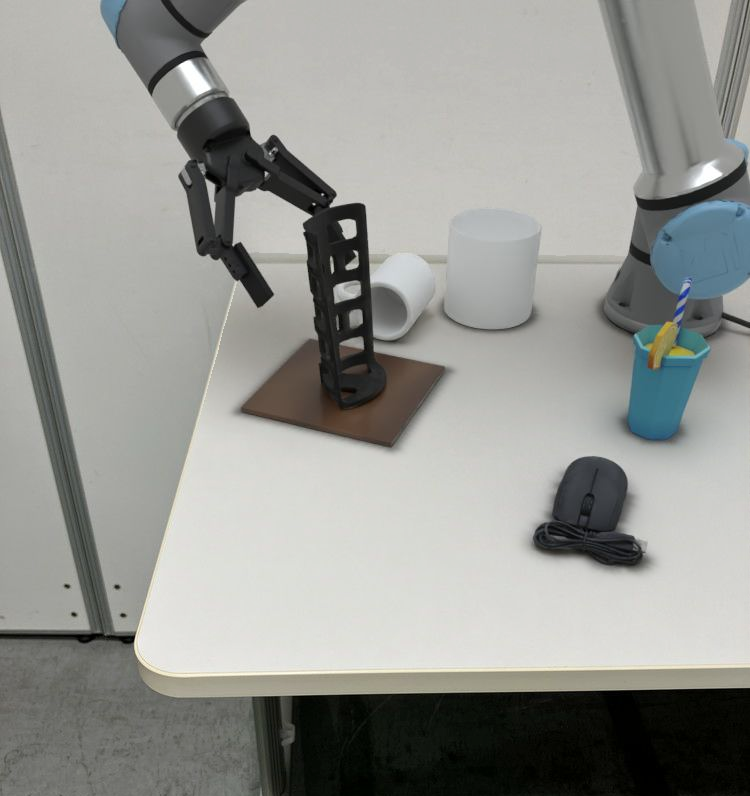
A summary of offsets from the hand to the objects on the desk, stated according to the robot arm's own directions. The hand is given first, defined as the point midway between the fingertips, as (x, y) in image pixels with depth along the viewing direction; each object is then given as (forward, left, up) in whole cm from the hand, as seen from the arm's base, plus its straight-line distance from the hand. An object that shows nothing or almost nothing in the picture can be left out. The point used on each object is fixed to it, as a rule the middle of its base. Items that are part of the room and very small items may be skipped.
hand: (309, 281), depth 102 cm
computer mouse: (-36, +14, -12) cm, 41 cm away
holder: (-5, +2, -11) cm, 13 cm away
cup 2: (-39, -5, -12) cm, 41 cm away
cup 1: (-14, -25, -12) cm, 32 cm away
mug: (-2, -16, -12) cm, 21 cm away
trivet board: (-5, +2, -12) cm, 13 cm away
